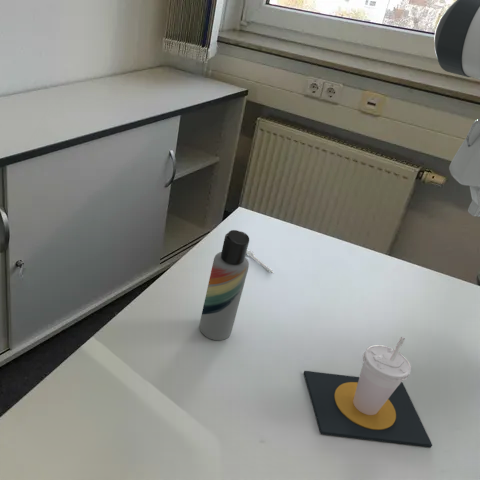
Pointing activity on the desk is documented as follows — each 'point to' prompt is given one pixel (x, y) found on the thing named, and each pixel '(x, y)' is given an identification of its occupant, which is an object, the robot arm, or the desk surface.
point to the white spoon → (258, 261)
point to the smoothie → (380, 377)
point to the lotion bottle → (225, 287)
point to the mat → (357, 423)
